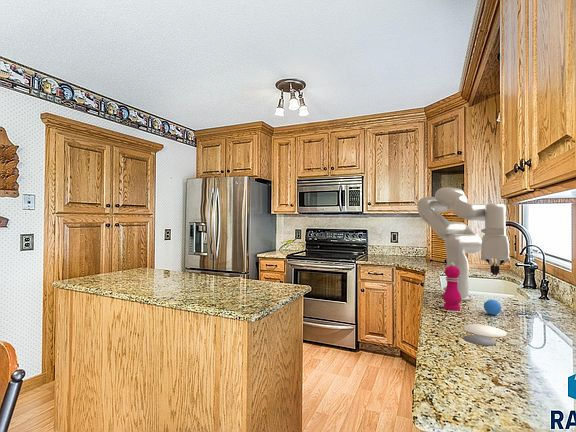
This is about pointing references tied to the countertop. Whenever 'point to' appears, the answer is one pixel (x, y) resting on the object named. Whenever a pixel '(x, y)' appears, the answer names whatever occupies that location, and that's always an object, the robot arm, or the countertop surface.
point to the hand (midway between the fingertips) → (495, 274)
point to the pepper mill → (452, 288)
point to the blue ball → (492, 307)
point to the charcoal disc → (479, 340)
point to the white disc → (484, 330)
